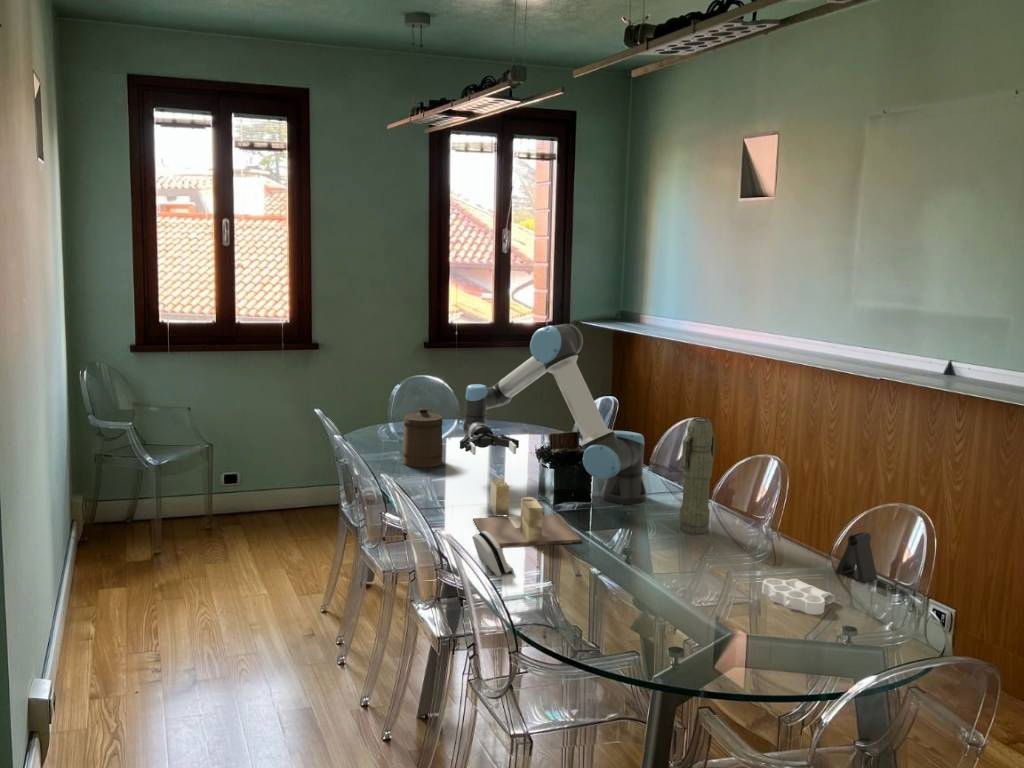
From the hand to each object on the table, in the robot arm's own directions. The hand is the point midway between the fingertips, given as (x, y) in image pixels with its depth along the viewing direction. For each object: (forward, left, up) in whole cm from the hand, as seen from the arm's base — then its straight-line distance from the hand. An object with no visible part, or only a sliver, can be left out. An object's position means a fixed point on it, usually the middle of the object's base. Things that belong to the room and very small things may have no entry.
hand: (494, 450), depth 317 cm
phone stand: (-85, +78, -19) cm, 117 cm away
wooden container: (+16, -56, -19) cm, 61 cm away
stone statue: (-56, +35, -19) cm, 68 cm away
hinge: (+12, +55, -19) cm, 59 cm away
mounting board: (-4, +29, -18) cm, 34 cm away
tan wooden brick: (0, +9, -18) cm, 20 cm away
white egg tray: (-60, +91, -19) cm, 110 cm away
